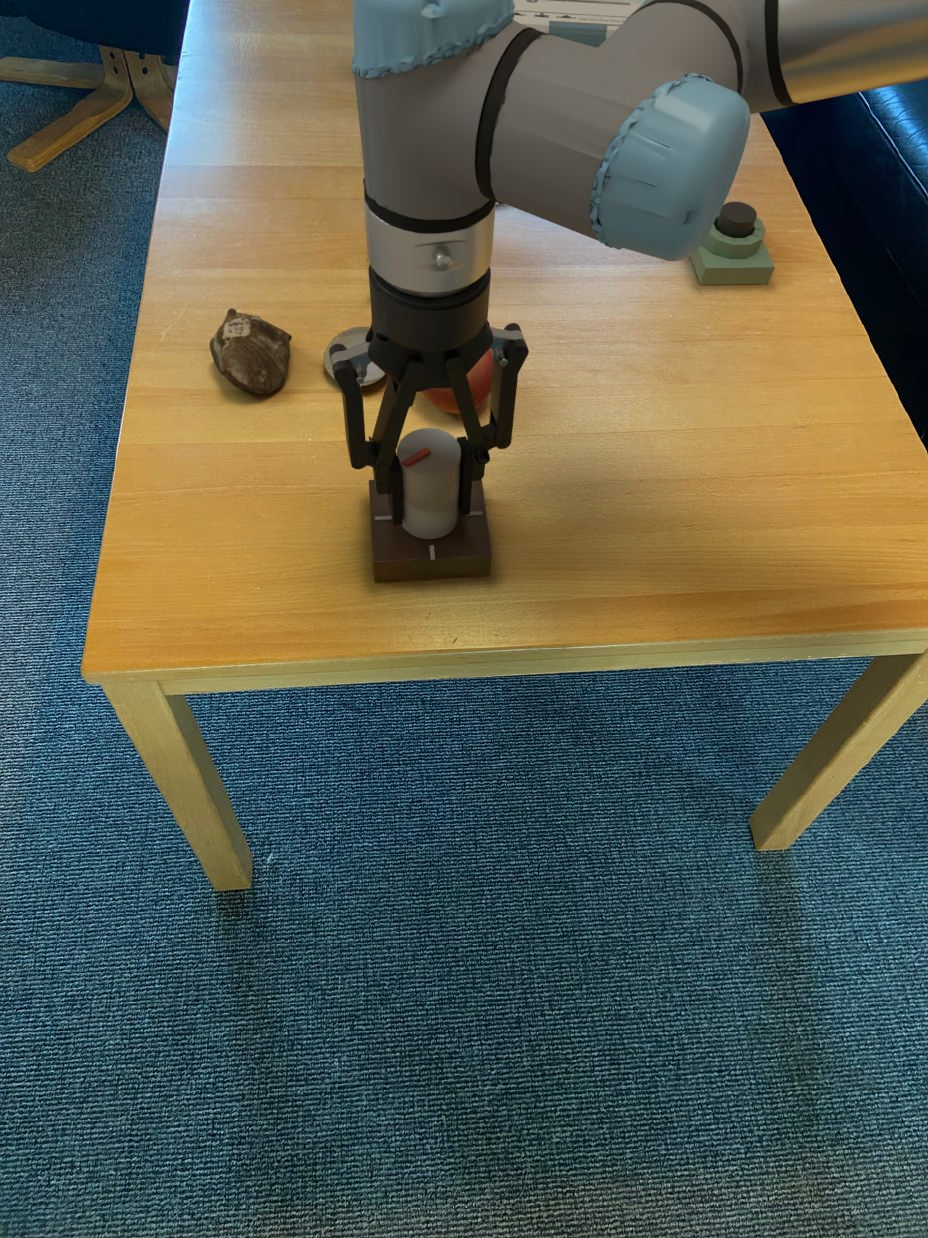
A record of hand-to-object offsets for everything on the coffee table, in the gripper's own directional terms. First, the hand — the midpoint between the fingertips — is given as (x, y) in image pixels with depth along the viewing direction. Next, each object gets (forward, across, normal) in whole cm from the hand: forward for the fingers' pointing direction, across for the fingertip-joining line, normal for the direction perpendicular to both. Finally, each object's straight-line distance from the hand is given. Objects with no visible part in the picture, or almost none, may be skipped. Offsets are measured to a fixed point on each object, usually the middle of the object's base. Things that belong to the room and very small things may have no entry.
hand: (428, 507), depth 70 cm
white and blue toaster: (+4, +31, +65) cm, 72 cm away
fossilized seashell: (+4, -13, +24) cm, 28 cm away
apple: (+4, +6, +17) cm, 18 cm away
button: (+1, +42, +34) cm, 54 cm away
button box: (+4, +42, +34) cm, 54 cm away
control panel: (+4, 0, 0) cm, 4 cm away
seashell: (+4, -2, +23) cm, 23 cm away
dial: (+1, 0, 0) cm, 1 cm away
